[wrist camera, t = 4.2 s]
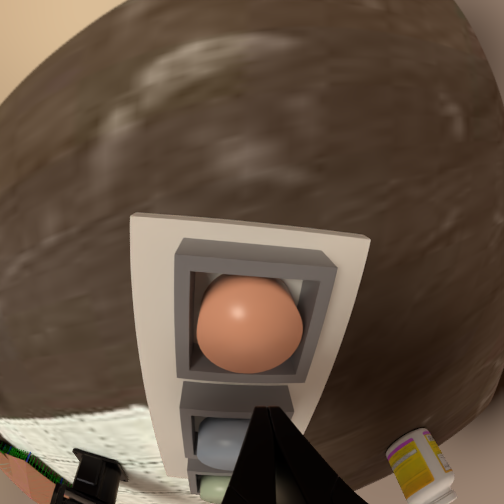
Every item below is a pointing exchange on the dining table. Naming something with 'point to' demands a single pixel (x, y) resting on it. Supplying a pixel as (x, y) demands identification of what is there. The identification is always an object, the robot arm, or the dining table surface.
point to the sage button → (213, 488)
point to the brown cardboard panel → (28, 476)
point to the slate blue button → (221, 441)
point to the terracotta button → (248, 323)
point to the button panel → (187, 313)
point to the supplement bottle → (421, 469)
